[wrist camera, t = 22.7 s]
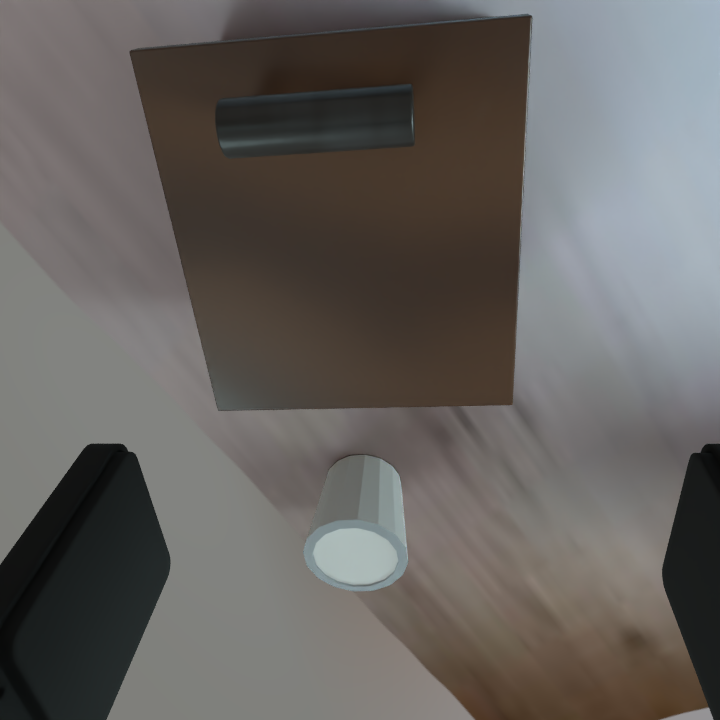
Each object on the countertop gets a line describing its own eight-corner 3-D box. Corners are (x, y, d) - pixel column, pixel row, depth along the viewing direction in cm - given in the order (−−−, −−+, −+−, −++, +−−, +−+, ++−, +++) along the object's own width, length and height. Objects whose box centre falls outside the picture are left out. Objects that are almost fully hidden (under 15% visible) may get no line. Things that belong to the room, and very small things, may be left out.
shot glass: (298, 477, 47) (281, 551, 41) (366, 432, 45) (358, 504, 39) (360, 529, 50) (352, 606, 44) (429, 489, 47) (430, 565, 41)
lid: (136, 48, 23) (72, 67, 19) (529, 13, 21) (556, 25, 17) (221, 401, 31) (190, 470, 27) (510, 395, 29) (525, 468, 25)
